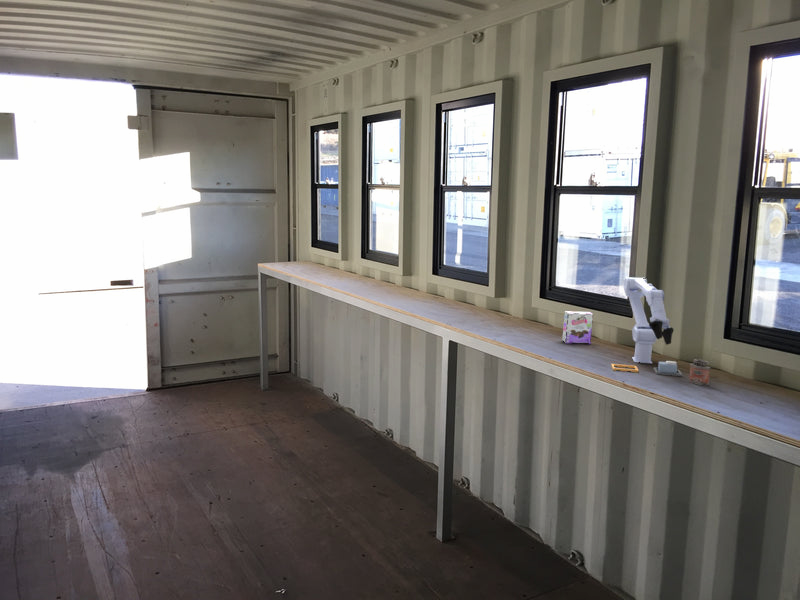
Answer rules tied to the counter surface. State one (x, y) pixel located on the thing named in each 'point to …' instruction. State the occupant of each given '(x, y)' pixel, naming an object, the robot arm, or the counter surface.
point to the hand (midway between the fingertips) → (664, 341)
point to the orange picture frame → (624, 366)
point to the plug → (667, 367)
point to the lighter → (699, 372)
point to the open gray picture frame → (667, 373)
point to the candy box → (577, 327)
